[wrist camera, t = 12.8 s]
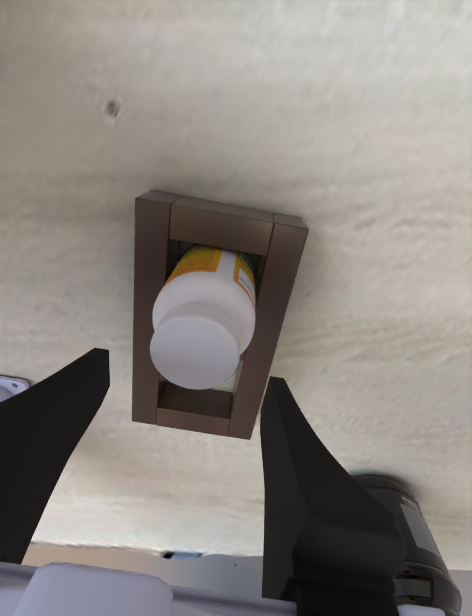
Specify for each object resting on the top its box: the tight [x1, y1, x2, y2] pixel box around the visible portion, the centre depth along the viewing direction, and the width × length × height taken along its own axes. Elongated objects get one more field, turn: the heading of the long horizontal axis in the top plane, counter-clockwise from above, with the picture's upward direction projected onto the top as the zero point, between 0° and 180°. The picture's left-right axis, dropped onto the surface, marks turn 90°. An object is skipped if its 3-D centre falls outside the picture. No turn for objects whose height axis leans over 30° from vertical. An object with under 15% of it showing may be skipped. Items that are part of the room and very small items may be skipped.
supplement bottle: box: [150, 244, 255, 390], centre depth 18 cm, size 5×5×10 cm
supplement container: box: [352, 476, 462, 616], centre depth 28 cm, size 10×10×12 cm
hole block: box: [132, 190, 309, 440], centre depth 23 cm, size 10×18×3 cm, turn 170°
